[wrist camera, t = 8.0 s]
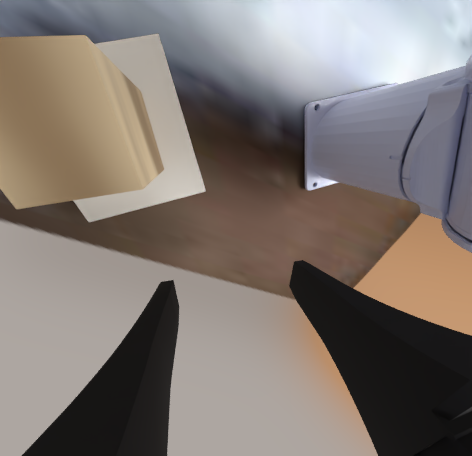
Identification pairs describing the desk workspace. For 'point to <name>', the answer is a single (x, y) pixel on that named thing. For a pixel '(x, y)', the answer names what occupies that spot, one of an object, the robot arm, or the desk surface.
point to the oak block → (70, 123)
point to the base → (163, 125)
